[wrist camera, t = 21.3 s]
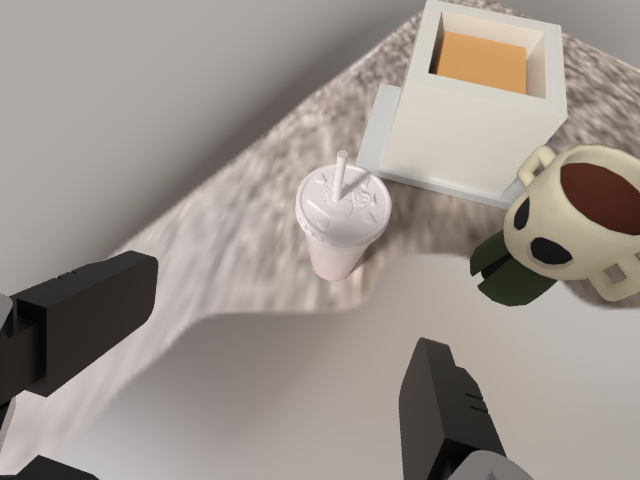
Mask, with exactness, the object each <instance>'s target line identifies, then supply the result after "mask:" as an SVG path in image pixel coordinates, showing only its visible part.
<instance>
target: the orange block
mask: <svg viewBox="0 0 640 480" xmlns="http://www.w3.org/2000/svg"><path fill="white" fill-rule="evenodd" d="M430 74H435V75H439V76H444V77H448V78H453V79H457V80H461V81H466V82H470V83H475V84H479V85H484V86H488V87H493V88H497V89H502V90H506V91H511V92H515V93H520V94H524V95H526V48H525V47H520V46H515V45H510V44H506V43H501V42H496V41H492V40H487V39H482V38H477V37H473V36H468V35H463V34H458V33H454V32H449V31H446V32H445V35H444V38H443V40H442V43H441V46H440V49H439V51H438V54H437V57H436V60H435V62H434V65H433V68H432V71H431V73H430Z"/></svg>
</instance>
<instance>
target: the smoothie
mask: <svg viewBox="0 0 640 480" xmlns="http://www.w3.org/2000/svg"><path fill="white" fill-rule="evenodd" d="M347 156H348V154H347V152H346V151H339V152H338V154H337V162H336V164H330V165H326V166H323V167H320V168H318V169H316V170H314V171H313V172H311V173H310V174H309V175H308V176H306V178H305V179H304V180H303V181H302V183H301V184H300V186H299V189H298V191H297V196H296V207H295V209H296V215H297V219H298V221H299V223H300V225H301V227H302V229H303V230H304V231H305V235H306V239H307V244H308V248H309V252H310V257H311V261H312V265H313V268H314V270H315V272H316V273H317V274H318V275H319V276H320V277H321V278H323V279H326V280H329V281H338V280H341V279H343V278H345V277H346V276H348V275H349V273H350V272H351V271H352V269H353V268H354V266H355V265H356V263H357V262H358V260H359V259H360V257H361V256H362V254H363V253H364V251H365V250H366V249H367V247H368V246H369V244H371V243H372V242H374V241H375V240H376V239H377V238H379V237H380V236H381V234H382V233H383V232H384V230H385V229H386V227H387V224H388V221H389V218H390V214H391V208H392V204H391V197H390V194H389V192H388V189H387V188H386V186H385V185H384V183H383V182H382V181H381V180H380V179H379V178H378V177H377V176H376V175H375V174H373V173H372V172H370V171H369V170H367V169H365V168H362V167H359V166H356V165H352V164H346V162H347Z"/></svg>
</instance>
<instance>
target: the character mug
mask: <svg viewBox="0 0 640 480" xmlns="http://www.w3.org/2000/svg"><path fill="white" fill-rule="evenodd" d="M540 164H542V165H543V166H544V168H545V169H544V170H543V171H542V172H541V173H540V174H539V175H538V176H537V177H536V176H535V175H534V171H535V170H536V169H537V167H538V166H539V165H540ZM517 175H518V178H519V180H520V181H521V183H522V184H523V186H524V187H525V189H524V190H523V191H522V192H521V193H520V195H519V196H518V197H517V198H516V199H515V200H514V201H513V202H512V203H511V205H510V207H509V209H508V211H507V213H506V215H505V218H504V229H503V230H501V231H500V232H498V233H497V234H495V235H494V236H492V237H491V238H489V239H488V240H486V241H485V242H484V243H482V244H481V245H480V246H479V247H477V248H476V250H475V251H474V253H473V255H472V257H471V259H470V273H471V275H472V276H474V275H476V274H477V273H478V272H480V271H481V274H482V277H483V278H484V279H485V280H484V281H483V282H481V284H479V285H478V288H479V290H480V291H481V292H482V293H484V294H485V295H486V296H487V297H489V298H490V299H491V300H492V301H495V302H498V303H500V304H503V305H506V306H519V305H527V304H528V303H530V302H531V301H533V300H534V299H536V298H538V297H539V296H540V295H542V294H543V293H544V292H545V291H547V290H548V289H549V288H550V287H551V286H552V285H553V284H555V283H556V282H557V281H558V280H581V279H589V280H590V282H591V283H592V285H593V286H594V288H595V289H596V290H597V292H598V293H599V295H600V296H601V297H603V298H604V299H605V300H607V301H618V300H621V299H623V298H626V297H628V296H631V295H633V294H636V293H638V292H640V260H639V259H638V258H637V257H636V255H635V254H636V253H638V252H640V158H638V157H636V156H634V155H632V154H630V153H628V152H626V151H624V150H622V149H619V148H615V147H610V146H606V145H602V144H598V143H597V144H577V145H575V146H573V147H571V148H569V149H567V150H565V151H563V152H562V153H560V154H559V155H558V156H557V155H556V154H555V152H554V151H553V150H552V149H551V148H549V147H548V146H546V145H541V146H539V147H538V148H536V149H535V150H534V151H533V152H532V153H531V155H530V156H529V157H528V158H527V159H526V161H525V162H524V163H523V164H522V165H521V167H520V168H519V169H518V172H517ZM615 264H617V265H618V266H619V267H620V269H621V270H622V271H623V273H624V274H625V275H626V277H627V278H625V279H623V280H620V281H618V282H616V283H613V282H612V281H611V279H610V278H609V276H608V275H607V274H606V272H605V271H604V270H605V269H607V268H609V267H611V266H613V265H615Z"/></svg>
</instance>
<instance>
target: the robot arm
mask: <svg viewBox="0 0 640 480" xmlns="http://www.w3.org/2000/svg"><path fill="white" fill-rule="evenodd" d="M157 275H158V261H157V259H156V258H155V257H152V256H149V255H145V254H142V253H139V252H135V251H132V250H130V251H127V252H124V253H122V254H120V255H117V256H115V257H112V258H110V259H108V260H105V261H102V262H96V263H92V264H87V265H85V266H82V267H80V268H77V269H75V270H73V271H72V272H71V273H70V272H68V273H65V274H63V275H60V276H58V278H53V279H50V280H48V281H46V282H43V283H41V284H38V285H36V286H33V287H31V288H29V289H26V290H24V291H21V292H19V293H16V294H14V295H12V296H9V297H8V296H5V295H3V294H0V452H1V449H2V446H3V443H4V440H5V437H6V434H7V431H8V428H9V425H10V422H11V419H12V416H13V413H14V410H15V406H16V395H18V394H19V393H21V392H22V391H24V390H26V391H29V392H32V393H35V394H38V395H41V396H44V397H48V396H49V395H51V394H52V393H53V392H54V391H56V390H57V389H58V388H60V387H61V386H62V385H64V384H65V383H66V382H68V381H69V380H70V379H72V378H73V377H74V376H76V375H77V374H78V373H80V372H81V371H82V370H84V369H85V368H86V367H87V366H89V365H90V364H91V363H93V362H94V361H95V360H97V359H98V358H99V357H101V356H102V355H103V354H105V353H106V352H107V351H109V350H110V349H111V348H113V347H114V346H115V345H116V344H118V343H119V342H120V341H122V340H123V339H124V338H126V337H127V336H128V335H130V334H131V333H132V332H134V331H135V330H136V329H138V328H139V327H140V326H142V325H143V324H144V323H145V322H146V321H147V320H148V318H149V317H150V315H151V313H152V311H153V308H154V303H155V293H156V284H157ZM399 418H400V431H401V444H402V445H401V447H402V461H403V474H404V475H403V476H404V480H533V479H532V477H531V476H530V475H528V473H526V472H525V471H524V470H523V469H522V468H521V467H519V466H518V465H517V464H515V463H514V462H513V461H511V460H509V459H508V458H507V456H506V454H505V452H504V449H503V446H502V444H501V441H500V439H499V436H498V434H497V432H496V429H495V427H494V424H493V422H492V419H491V417H490V415H489V414H488V409H487V407H486V404H485V402H484V401H483V397H482V394H481V392H480V389H479V387H478V384H477V383H476V382H475V381H474V379H473V378H472V377H471V376H470V375H469V373H468V372H467V371H466V370H465V369H464V368H461V367H457V366H456V365H455V362H454V359H453V356H452V353H451V350H450V348H449V346H448V345H446V344H443V343H439V342H436V341H433V340H430V339H426V338H423V337H421V338H420V339H419V340H418V342H417V345H416V347H415V350H414V352H413V355H412V358H411V360H410V363H409V366H408V369H407V371H406V375H405V377H404V379H403V382H402V386H401V390H400V395H399ZM0 480H99V479H98V478H96V477H95V476H94V475H92V474H90V473H87V472H84V471H81V470H79V469H76V468H73V467H70V466H68V465H65V464H62V463H60V462H57V461H54V460H51V459H49V458H46V457H43V456H40V455H38V456H37V457H35V458H34V459H33V460H32V461H31V462H30V463H29V464H28V465H27V466H26V467H24V468H23V469H22V470H21V471H20V472H19V473H18V474H17V475H0Z"/></svg>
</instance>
